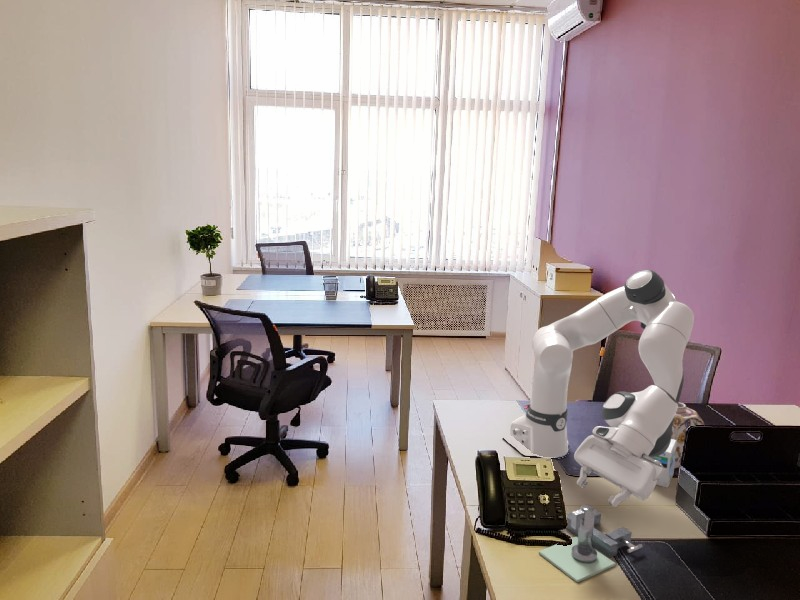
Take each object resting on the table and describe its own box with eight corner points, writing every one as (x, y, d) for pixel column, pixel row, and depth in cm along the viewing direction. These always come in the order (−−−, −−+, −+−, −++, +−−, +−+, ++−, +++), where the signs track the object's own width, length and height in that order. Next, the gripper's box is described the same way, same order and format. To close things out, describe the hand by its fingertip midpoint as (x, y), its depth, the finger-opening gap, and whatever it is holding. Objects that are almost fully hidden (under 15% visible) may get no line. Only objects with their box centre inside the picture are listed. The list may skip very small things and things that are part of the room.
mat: (538, 553, 144) (538, 551, 144) (575, 538, 150) (575, 536, 150) (577, 582, 134) (577, 580, 134) (615, 565, 140) (615, 563, 140)
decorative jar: (701, 463, 189) (707, 408, 185) (672, 470, 185) (678, 413, 181) (670, 447, 200) (676, 395, 196) (642, 453, 195) (648, 400, 192)
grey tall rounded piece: (562, 554, 143) (565, 507, 140) (583, 546, 146) (587, 500, 143) (579, 568, 138) (583, 519, 135) (601, 559, 141) (605, 511, 139)
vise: (563, 526, 155) (563, 515, 155) (588, 516, 160) (588, 506, 159) (618, 563, 141) (619, 551, 140) (644, 551, 145) (645, 540, 144)
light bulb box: (668, 488, 174) (671, 453, 172) (642, 482, 178) (646, 447, 175) (674, 473, 183) (677, 439, 181) (650, 467, 186) (653, 434, 184)
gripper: (673, 472, 136) (638, 524, 133) (601, 437, 153) (569, 482, 151) (661, 457, 133) (626, 510, 130) (590, 423, 150) (557, 469, 148)
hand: (595, 494), depth 141 cm, fingers open, 8 cm apart
